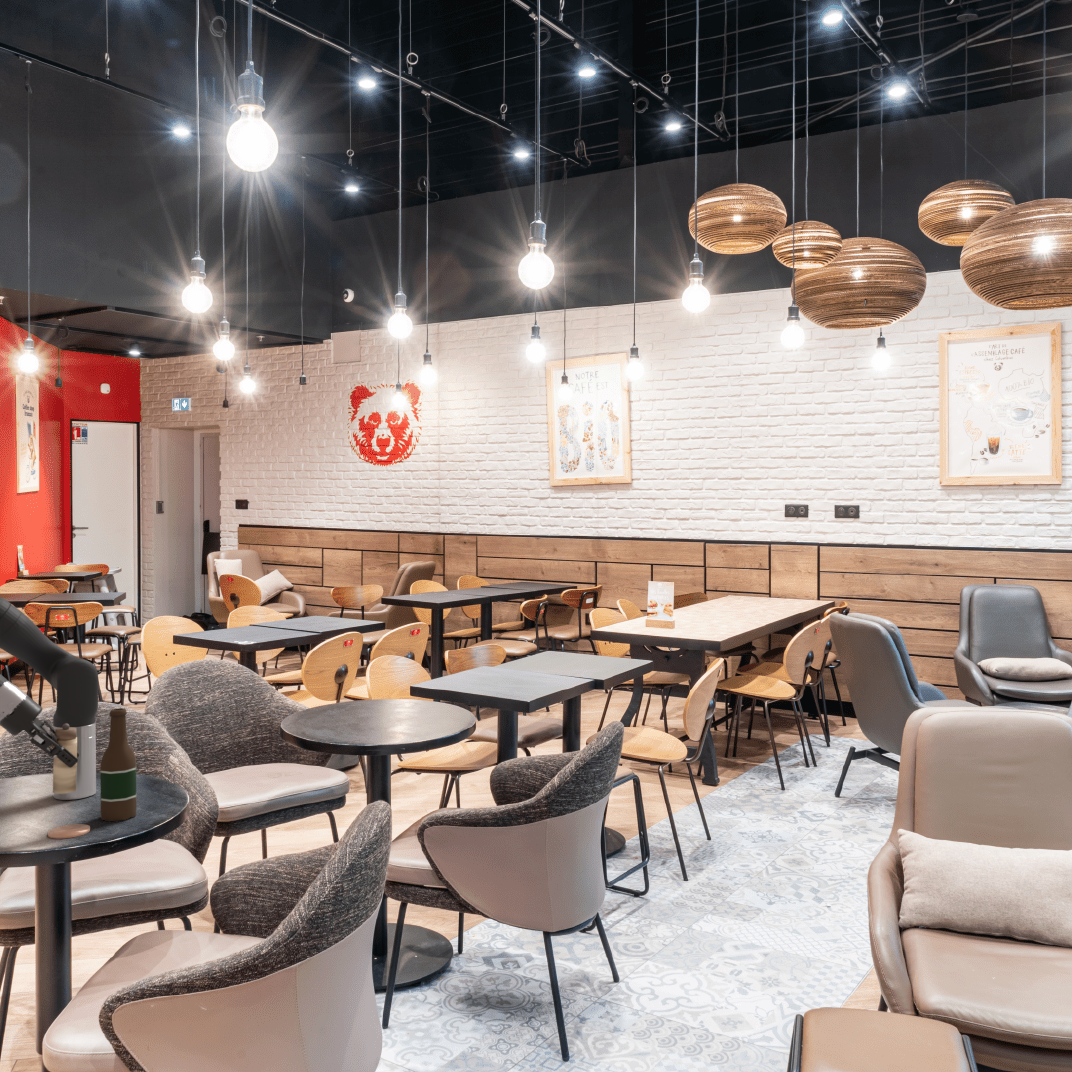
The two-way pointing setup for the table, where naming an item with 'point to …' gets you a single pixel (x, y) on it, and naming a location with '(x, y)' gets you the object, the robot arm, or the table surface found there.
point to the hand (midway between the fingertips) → (75, 761)
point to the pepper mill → (61, 772)
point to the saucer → (68, 831)
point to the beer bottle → (118, 772)
